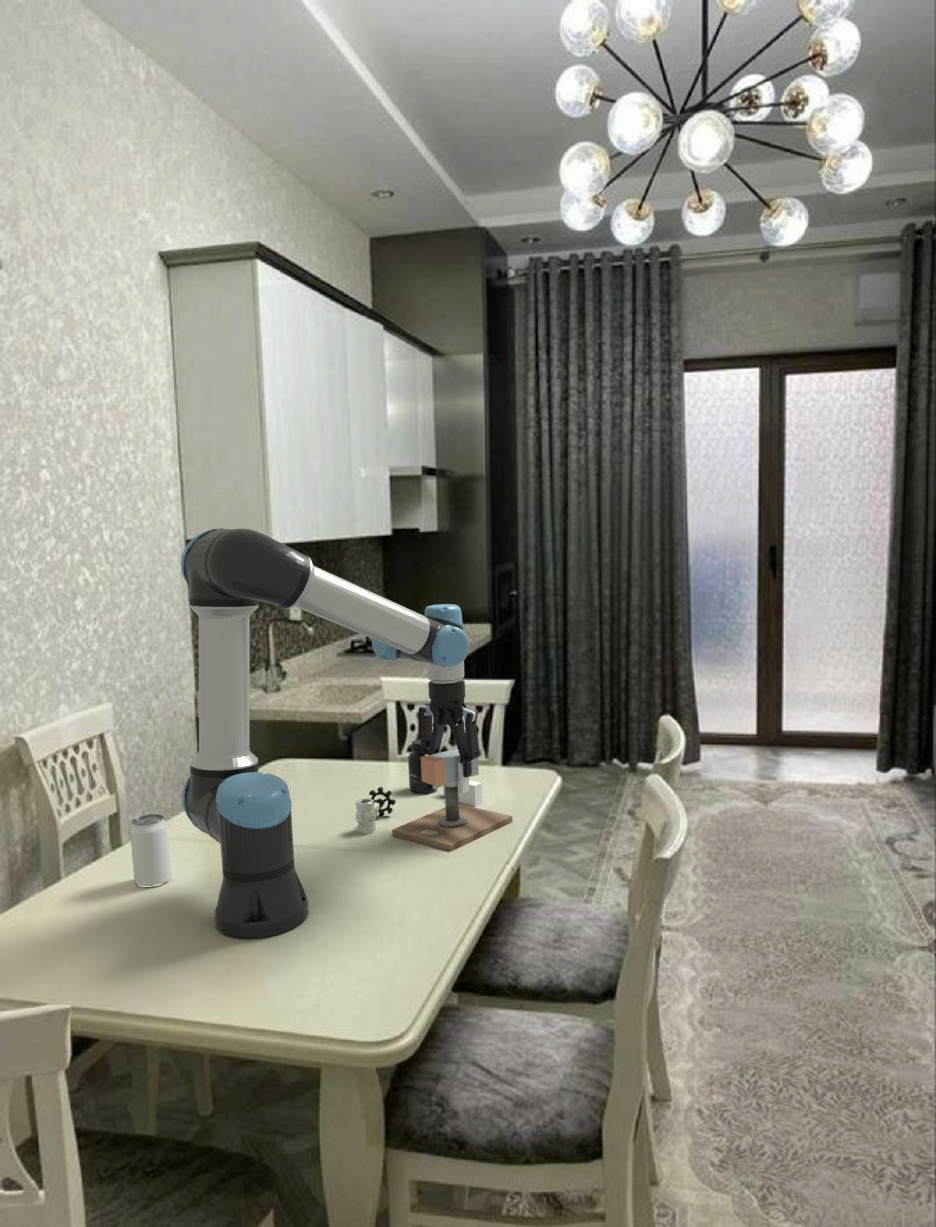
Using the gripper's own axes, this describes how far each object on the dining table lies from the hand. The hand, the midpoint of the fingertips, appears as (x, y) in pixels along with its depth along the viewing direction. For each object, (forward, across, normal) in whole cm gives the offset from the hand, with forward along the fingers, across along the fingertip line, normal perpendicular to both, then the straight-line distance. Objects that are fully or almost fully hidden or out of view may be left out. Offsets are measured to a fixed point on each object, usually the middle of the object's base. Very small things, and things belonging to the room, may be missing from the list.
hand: (451, 789), depth 189 cm
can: (+9, +33, +49) cm, 60 cm away
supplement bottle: (+9, +22, -18) cm, 29 cm away
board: (+8, 0, 0) cm, 8 cm away
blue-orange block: (-1, 0, 0) cm, 1 cm away
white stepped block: (+9, +10, -17) cm, 21 cm away
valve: (+9, +17, +6) cm, 20 cm away
